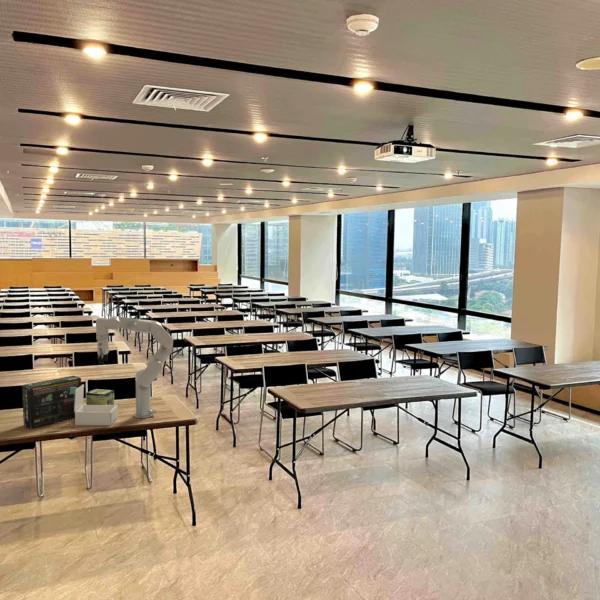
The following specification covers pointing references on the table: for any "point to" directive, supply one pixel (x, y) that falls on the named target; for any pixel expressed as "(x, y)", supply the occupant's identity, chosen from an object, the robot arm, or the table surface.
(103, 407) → the white open box
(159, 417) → the table surface
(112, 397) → the protein box
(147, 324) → the robot arm
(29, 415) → the router box
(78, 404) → the flap
